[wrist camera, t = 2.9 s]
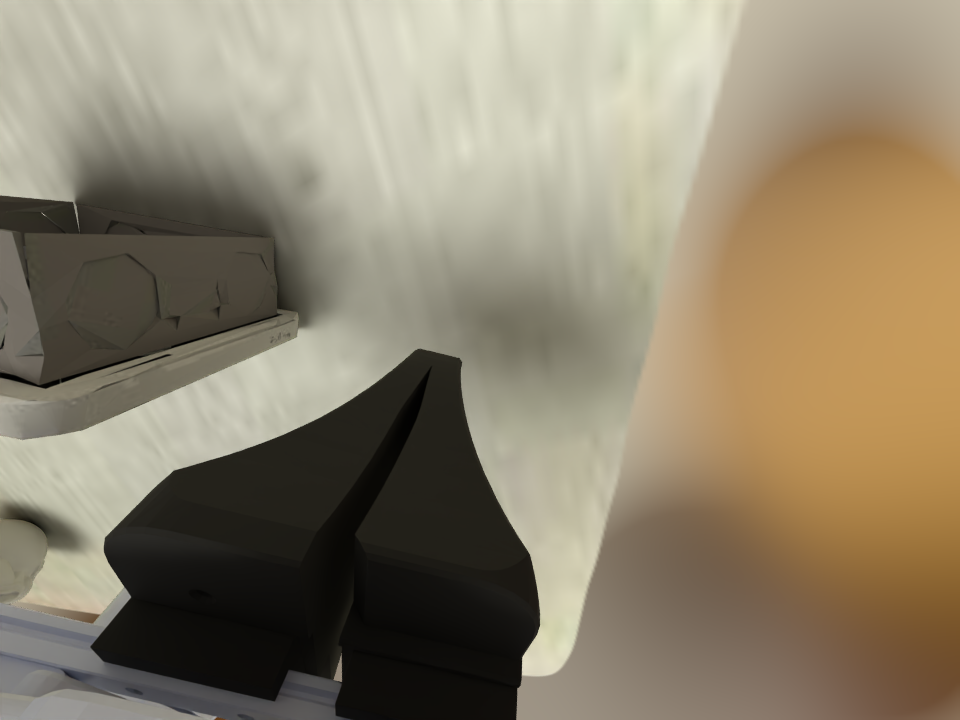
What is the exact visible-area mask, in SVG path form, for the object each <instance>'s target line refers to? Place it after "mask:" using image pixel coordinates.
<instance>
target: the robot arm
mask: <svg viewBox="0 0 960 720" xmlns="http://www.w3.org/2000/svg"><path fill="white" fill-rule="evenodd" d="M461 366H462V361H461V360H460V358H456V357H452V356H448V355H444V354H440V353H435V352H431V351H427V350H423V349H417V350H415V351H414V352H413V353H412V354H411V355H410V356H408V357H407V358H406V359H405V360H404V361H403V362H402V363H400V364H399V365H398V366H397V367H396V368H394V369H393V370H392V371H391V372H389V373H388V374H387V375H385V376H384V377H383V378H382V379H380V380H379V381H378V382H376V383H375V384H374V385H372V386H371V387H369V388H368V389H366V390H365V391H363V392H362V393H361V394H359V395H358V396H356V397H355V398H353V399H352V400H350V401H348V402H347V403H345V404H343V405H342V406H340V407H338V408H337V409H335V410H333V411H331V412H330V413H328V414H326V415H324V416H322V417H320V418H318V419H316V420H314V421H312V422H310V423H308V424H306V425H304V426H302V427H300V428H297V429H295V430H293V431H291V432H289V433H286V434H284V435H282V436H279V437H277V438H274V439H272V440H269V441H266V442H264V443H261V444H258V445H256V446H253V447H250V448H247V449H244V450H242V451H239V452H236V453H233V454H230V455H226V456H223V457H220V458H216V459H213V460H209V461H206V462H203V463H199V464H196V465H193V466H189V467H186V468H182V469H178V470H174V471H173V472H172V473H171V474H170V475H169V476H167V477H166V478H165V479H164V480H163V481H162V482H161V483H159V484H158V485H157V486H156V487H155V488H154V489H153V490H152V491H151V492H150V493H149V494H148V495H147V496H146V497H145V498H144V499H143V500H142V501H141V502H140V503H139V504H138V505H137V506H136V507H135V508H134V509H133V510H132V511H131V512H130V513H129V514H128V515H127V516H126V517H125V518H124V519H123V520H122V521H121V522H120V523H119V524H118V525H117V526H116V527H115V528H114V529H113V530H112V531H111V532H110V533H109V534H108V535H107V536H106V537H105V542H104V553H105V556H106V558H107V560H108V563H109V564H110V566H111V567H112V569H113V570H114V572H115V573H116V575H117V576H118V578H119V579H120V581H121V582H122V584H123V585H124V588H123V589H122V591H121V592H120V593H119V594H118V595H117V596H116V598H115V599H114V600H113V601H112V602H111V603H110V604H109V606H108V607H107V608H106V609H105V610H104V611H103V613H102V614H101V615H100V616H99V617H98V618H97V620H96V621H95V622H94V623H93V624H90V623H86V622H81V621H77V620H73V619H69V618H64V617H60V616H56V615H51V614H47V613H42V612H39V611H34V610H30V609H26V608H22V607H17V606H13V605H9V604H4V603H0V720H214V719H215V718H216V717H220V718H224V719H229V720H516V711H517V688H519V687H520V685H521V678H522V657H523V655H524V654H525V652H526V650H527V649H528V647H529V646H530V644H531V643H532V641H533V640H534V638H535V637H536V635H537V633H538V630H539V627H540V609H539V599H538V591H537V585H536V580H535V574H534V570H533V566H532V561H531V557H530V554H529V552H528V551H527V549H526V548H525V546H524V545H523V543H522V542H521V540H520V539H519V537H518V535H517V534H516V532H515V530H514V529H513V527H512V525H511V524H510V522H509V520H508V519H507V517H506V515H505V513H504V511H503V510H502V508H501V506H500V504H499V502H498V500H497V498H496V496H495V494H494V492H493V490H492V488H491V486H490V484H489V482H488V479H487V477H486V475H485V473H484V471H483V468H482V466H481V463H480V461H479V458H478V456H477V453H476V450H475V447H474V444H473V441H472V438H471V434H470V431H469V427H468V423H467V419H466V414H465V410H464V404H463V398H462V390H461ZM341 653H342V682H339V681H335V680H333V679H334V676H335V673H336V669H337V666H338V663H339V660H340V656H341Z"/></svg>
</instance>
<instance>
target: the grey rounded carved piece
mask: <svg viewBox="0 0 960 720" xmlns="http://www.w3.org/2000/svg"><path fill="white" fill-rule="evenodd" d="M47 549H48V543H47V538H46V536H45V534H44V532H43V531H42V530H41V529H40V528H39V527H37V526H36V525H34V524H32V523H30V522H27V521H23V520H16V519H4V520H0V603H4V604H9V605H10V604H11V603H14V602H17V601H18V600H20V599H22V598H23V597H24V596H25V595H26V594H27V593H28V592H29V591H30V589H31V587H32V584H33V580H34V579H35V576H36V575H37V574H38V573H39V571H40V570H41V569H42V567H43V564H44V559H45V556H46V554H47Z"/></svg>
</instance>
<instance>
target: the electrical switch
mask: <svg viewBox="0 0 960 720" xmlns="http://www.w3.org/2000/svg"><path fill="white" fill-rule="evenodd" d="M77 212H78V221H79V228H78V223H77V219H76V214H75V209H74V204H73V202H65V201H54V200H43V199H32V198H21V197H10V196H0V436H5V437H10V438H15V439H20V440H25V439H32V438H39V437H47V436H54V435H61V434H66V433H71V432H76V431H81V430H84V429H87V428H89V427H91V426H94V425H96V424H98V423H100V422H103V421H105V420H107V419H110V418H112V417H114V416H117V415H119V414H121V413H124V412H126V411H128V410H130V409H133V408H135V407H137V406H140V405H142V404H144V403H147V402H149V401H151V400H153V399H156V398H158V397H160V396H163V395H165V394H167V393H170V392H172V391H174V390H177V389H179V388H181V387H183V386H186V385H188V384H190V383H193V382H195V381H197V380H200V379H202V378H204V377H207V376H209V375H211V374H213V373H216V372H218V371H220V370H223V369H225V368H227V367H230V366H232V365H234V364H237V363H239V362H241V361H243V360H246V359H248V358H250V357H253V356H255V355H257V354H260V353H262V352H264V351H267V350H269V349H271V348H273V347H276V346H278V345H280V344H282V343H285V342H287V341H289V340H291V339H294V338H296V337H297V332H298V322H299V316H298V312H293V311H288V310H282V309H277V288H278V285H277V281H276V277H275V272H274V238H268V237H262V236H256V235H251V234H245V233H239V232H234V231H228V230H222V229H216V228H211V227H205V226H199V225H194V224H188V223H182V222H177V221H171V220H165V219H160V218H154V217H148V216H143V215H137V214H131V213H126V212H120V211H114V210H109V209H103V208H97V207H92V206H86V205H78V204H77ZM42 213H43V214H44V215H46V216H47V217H46V216H44V215H43V214H42ZM118 223H119V224H118ZM136 228H137V229H136ZM138 229H139V230H142V231H144V233H145V234H146V235H145V234H144V233H142V232H141V231H139V230H138ZM79 230H80V233H79Z"/></svg>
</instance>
